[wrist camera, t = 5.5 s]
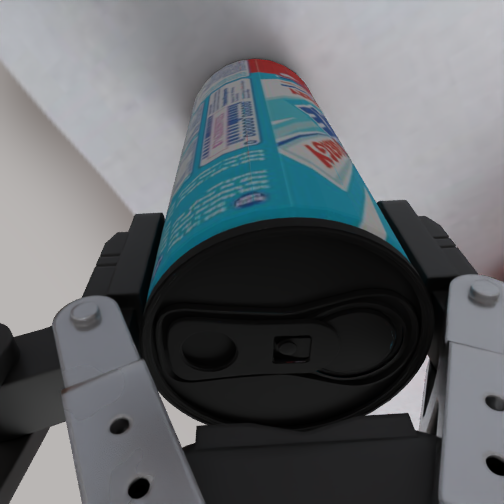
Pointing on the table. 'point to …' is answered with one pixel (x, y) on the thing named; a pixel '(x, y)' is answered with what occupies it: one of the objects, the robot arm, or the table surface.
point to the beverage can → (277, 268)
